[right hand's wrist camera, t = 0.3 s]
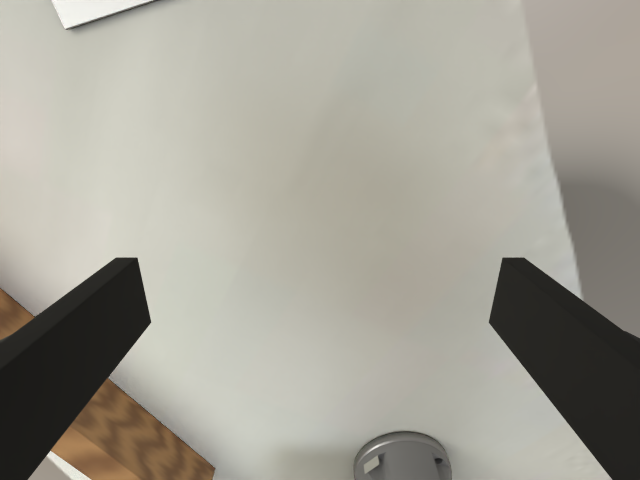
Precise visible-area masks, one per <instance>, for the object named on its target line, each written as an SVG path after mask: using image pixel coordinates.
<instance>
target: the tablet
mask: <svg viewBox="0 0 640 480" xmlns="http://www.w3.org/2000/svg"><path fill="white" fill-rule="evenodd" d="M154 1H157V0H52V3H53V5H54V7H55V9H56V11H57V13H58V15H59V18H60V20H61V22H62V24H63V26H64V28H65V29H66V30H68V29H71V28H74V27H77V26H80V25H83V24H87V23H90V22H93V21H96V20H99V19H102V18H105V17H108V16H111V15H114V14H117V13H120V12H123V11H126V10H129V9H132V8H136V7H139V6H142V5H145V4H148V3H151V2H154Z"/></svg>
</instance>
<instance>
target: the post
mask: <svg viewBox="0 0 640 480" xmlns="http://www.w3.org/2000/svg"><path fill="white" fill-rule="evenodd" d="M33 318H35V317H34V316H33V315H31V314H30V313H29V312H28V311H27V310H25V309H24V308H23V307H22V306H21V305H19V304H18V303H17V302H16V301H15V300H14V299H12V298H11V297H10V296H9V295H8V294H6V293H5V292H4V291H3V290H2V289H0V340H1V339H3V338H5V337H7V336H9V335H11V334H13V333H14V332H16V331H17V330H18V329H20V328H21V327H22V326H24V325H25V324H27V323H28V322H29V321H31V320H32V319H33ZM51 451H52V452H53V453H55V454H56V455H58V456H59V457H60V458H62V459H63V460H65V461H66V462H67V463H69V464H70V465H72V466H73V467H75V468H76V469H77V470H79V471H80V472H82V473H83V474H84V475H86V476H87V477H89V478H90V479H91V480H212V478H213V475H214V471H215V468H214V467H213V466H212V465H210V464H209V463H208V462H207V461H206V460H204V459H203V458H202V457H201V456H200V455H198V454H197V453H196V452H195V451H194V450H192V449H191V448H190V447H189V446H188V445H187V444H185V443H184V442H183V441H182V440H181V439H179V438H178V437H177V436H176V435H175V434H173V433H172V432H171V431H170V430H169V429H167V428H166V427H165V426H164V425H163V424H161V423H160V422H159V421H158V420H157V419H155V418H154V417H153V416H152V415H151V414H150V413H148V412H147V411H146V410H145V409H144V408H142V407H141V406H140V405H139V404H138V403H136V402H135V401H134V400H133V399H132V398H130V397H129V396H128V395H127V394H126V393H124V392H123V391H122V390H121V389H120V388H119V387H117V386H116V385H115V384H114V383H113V382H111V381H110V380H109V379H108V378H107V379H106V381H105V382H104V383H103V384H102V386H101V387H100V388H99V389H98V391H97V392H96V393H95V395H94V396H93V397H92V398H91V400H90V401H89V402H88V403H87V405H86V406H85V407H84V409H83V410H82V411H81V412H80V414H79V415H78V416H77V417H76V419H75V420H74V421H73V423H72V424H71V425H70V426H69V428H68V429H67V430H66V431H65V433H64V434H63V435H62V437H61V438H60V439H59V440H58V442H57V443H56V444H55V445H54V447H53V448H52V449H51Z"/></svg>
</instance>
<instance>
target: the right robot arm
mask: <svg viewBox="0 0 640 480" xmlns="http://www.w3.org/2000/svg"><path fill="white" fill-rule="evenodd" d="M150 323H151V319H150V315H149V310H148V305H147V301H146V296H145V291H144V287H143V282H142V277H141V272H140V268H139V263H138V258H115V259H114V260H112V261H111V262H110V263H108V264H107V265H105V266H104V267H103V268H101V269H100V270H99V271H97V272H96V273H95V274H93V275H92V276H90V277H89V278H88V279H86V280H85V281H84V282H82V283H81V284H80V285H78V286H77V287H76V288H74V289H73V290H71V291H70V292H69V293H67V294H66V295H65V296H63V297H62V298H61V299H59V300H58V301H56V302H55V303H54V304H52V305H51V306H50V307H48V308H47V309H46V310H44V311H43V312H42V313H40V314H39V315H37V316H36V317H35V318H33V319H32V320H31V321H29V322H28V323H27V324H25V325H24V326H22V327H21V328H20V329H18V330H17V331H16V332H14V333H13V334H11V335H9V336H7V337H5V338H3V339H1V340H0V480H28V478H29V477H30V476H31V475H32V473H33V472H34V471H35V470H36V468H37V467H38V466H39V464H40V463H41V462H42V461H43V459H44V458H45V457H46V456H47V454H48V453H49V452H50V450H51V449H52V448H53V447H54V445H55V444H56V443H57V442H58V440H59V439H60V438H61V437H62V435H63V434H64V433H65V431H66V430H67V429H68V428H69V426H70V425H71V424H72V423H73V421H74V420H75V419H76V417H77V416H78V415H79V414H80V412H81V411H82V410H83V409H84V407H85V406H86V405H87V403H88V402H89V401H90V400H91V398H92V397H93V396H94V395H95V393H96V392H97V391H98V389H99V388H100V387H101V386H102V384H103V383H104V382H105V381H106V379H107V378H108V377H109V375H110V374H111V373H112V372H113V370H114V369H115V368H116V367H117V365H118V364H119V363H120V361H121V360H122V359H123V358H124V356H125V355H126V354H127V353H128V351H129V350H130V349H131V347H132V346H133V345H134V344H135V342H136V341H137V340H138V339H139V337H140V336H141V335H142V333H143V332H144V331H145V330H146V328H147V327H148V326H149V325H150ZM489 323H490V325H491V326H492V327H493V328H494V330H495V331H496V332H497V333H498V335H499V336H500V337H501V339H502V340H503V341H504V342H505V344H506V345H507V346H508V347H509V349H510V350H511V351H512V353H513V354H514V355H515V356H516V358H517V359H518V360H519V361H520V363H521V364H522V365H523V367H524V368H525V369H526V370H527V372H528V373H529V374H530V375H531V377H532V378H533V379H534V381H535V382H536V383H537V384H538V386H539V387H540V388H541V389H542V391H543V392H544V393H545V395H546V396H547V397H548V398H549V400H550V401H551V402H552V403H553V405H554V406H555V407H556V409H557V410H558V411H559V412H560V414H561V415H562V416H563V417H564V419H565V420H566V421H567V423H568V424H569V425H570V426H571V428H572V429H573V430H574V431H575V433H576V434H577V435H578V437H579V438H580V439H581V440H582V442H583V443H584V444H585V445H586V447H587V448H588V449H589V450H590V452H591V453H592V454H593V456H594V457H595V458H596V459H597V461H598V462H599V463H600V464H601V466H602V467H603V468H604V470H605V471H606V472H607V473H608V475H609V476H610V477H611V478H612V480H640V338H638V337H636V336H634V335H632V334H630V333H628V332H626V331H623V330H622V329H620V328H619V327H617V326H616V325H615V324H613V323H612V322H611V321H609V320H608V319H607V318H605V317H604V316H603V315H601V314H600V313H598V312H597V311H596V310H594V309H593V308H592V307H590V306H589V305H588V304H586V303H585V302H584V301H582V300H581V299H579V298H578V297H577V296H575V295H574V294H573V293H571V292H570V291H569V290H567V289H566V288H564V287H563V286H562V285H560V284H559V283H558V282H556V281H555V280H554V279H552V278H551V277H550V276H548V275H547V274H545V273H544V272H543V271H541V270H540V269H539V268H537V267H536V266H535V265H533V264H532V263H530V262H529V261H528V260H526V259H525V258H502V263H501V268H500V272H499V277H498V282H497V287H496V291H495V296H494V301H493V305H492V310H491V315H490V319H489ZM354 476H355V480H452V472H451V466H450V462H449V460H448V457H447V454H446V452H445V450H444V448H443V447H442V446H441V445H440V444H439V443H438V442H437V441H435V440H434V439H432V438H430V437H428V436H425V435H422V434H418V433H412V432H398V433H391V434H387V435H384V436H381V437H378V438H376V439H374V440H372V441H371V442H369V443H368V444H366V445H365V446H364V447H363V448H362V449H361V450H360V452H359V453H358V454H357V456H356V459H355V462H354Z"/></svg>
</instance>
